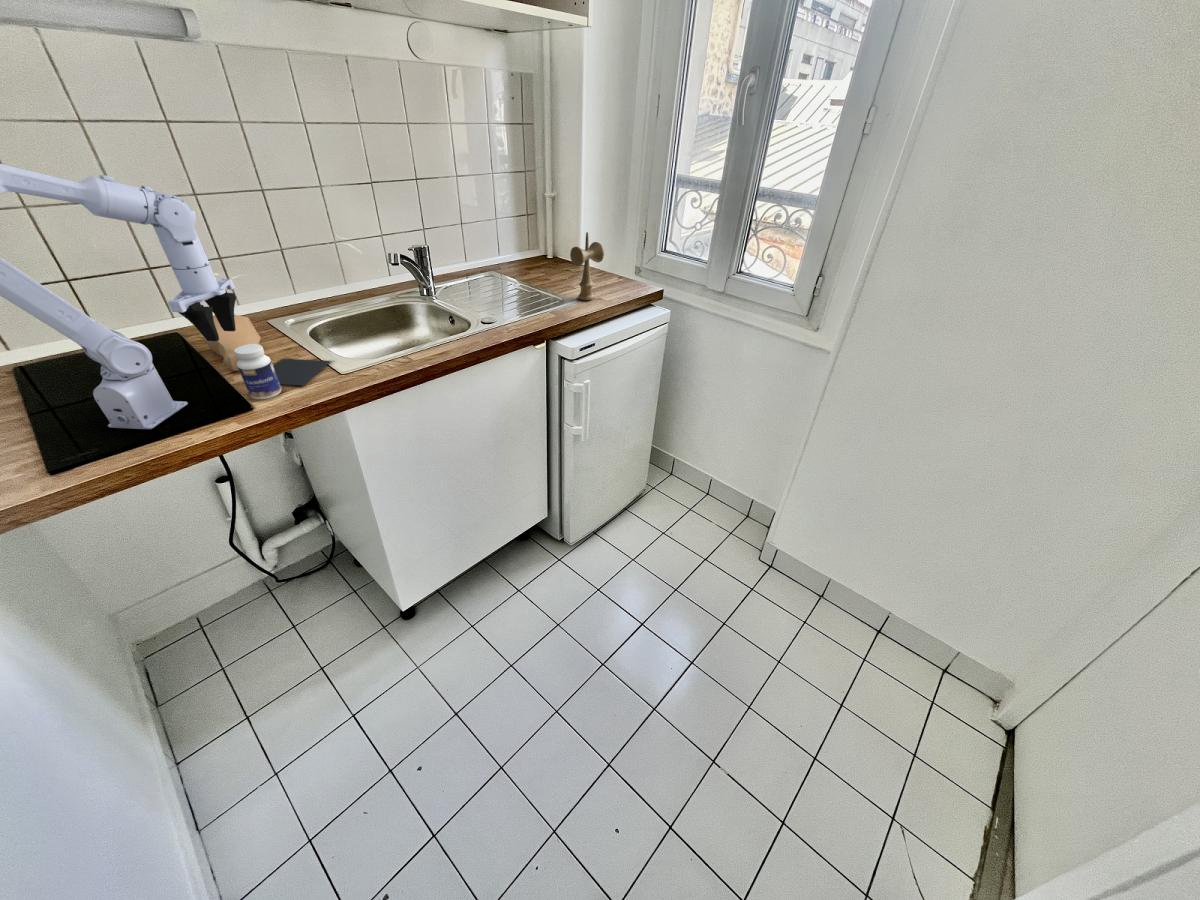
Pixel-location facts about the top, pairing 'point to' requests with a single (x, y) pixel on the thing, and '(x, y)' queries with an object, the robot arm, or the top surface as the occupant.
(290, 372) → the mat
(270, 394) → the pill bottle
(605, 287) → the top surface
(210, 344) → the squash
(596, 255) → the kendama
